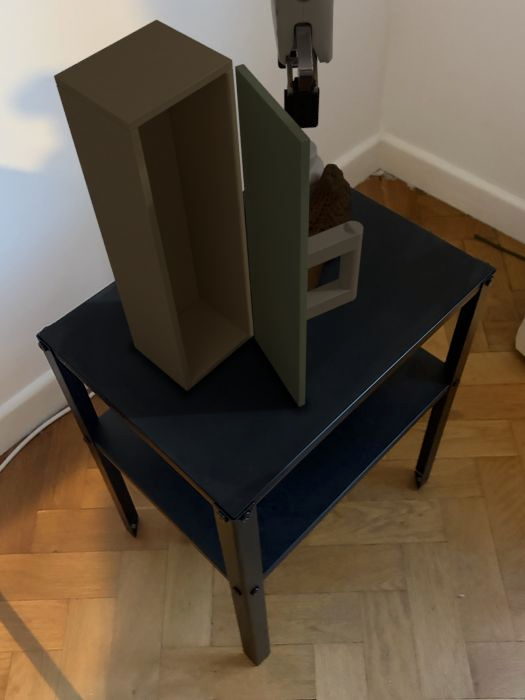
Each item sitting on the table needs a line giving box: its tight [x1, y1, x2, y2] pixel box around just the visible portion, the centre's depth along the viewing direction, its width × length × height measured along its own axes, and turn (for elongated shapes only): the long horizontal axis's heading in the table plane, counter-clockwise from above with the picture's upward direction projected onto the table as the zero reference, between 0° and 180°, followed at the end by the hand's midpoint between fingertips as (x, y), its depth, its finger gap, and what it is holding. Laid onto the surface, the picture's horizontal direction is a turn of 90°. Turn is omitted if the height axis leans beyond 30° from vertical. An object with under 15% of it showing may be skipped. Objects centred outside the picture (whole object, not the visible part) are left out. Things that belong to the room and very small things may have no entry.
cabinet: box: [53, 19, 255, 392], centre depth 63 cm, size 8×9×31 cm
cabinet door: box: [234, 63, 364, 408], centre depth 61 cm, size 6×9×31 cm
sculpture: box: [249, 163, 353, 301], centre depth 76 cm, size 8×10×15 cm
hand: (297, 95), depth 72 cm, fingers open, 9 cm apart
